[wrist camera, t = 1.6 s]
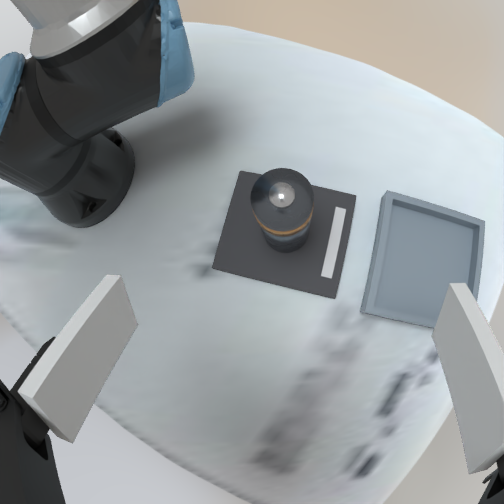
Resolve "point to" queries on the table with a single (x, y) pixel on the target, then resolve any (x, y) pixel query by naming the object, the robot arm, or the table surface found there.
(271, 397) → the table surface
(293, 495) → the table surface
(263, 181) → the battery cell
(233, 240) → the dark grey pad
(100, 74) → the robot arm
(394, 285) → the tray
